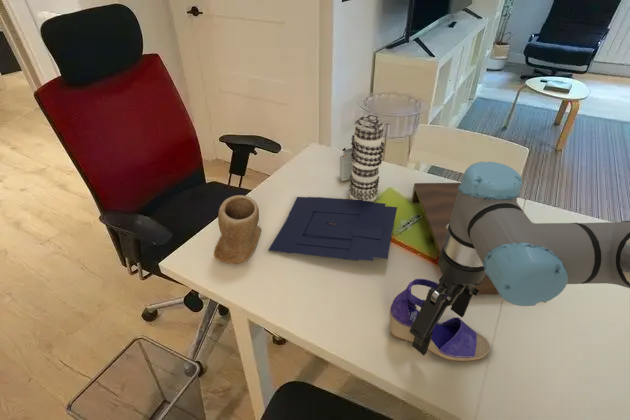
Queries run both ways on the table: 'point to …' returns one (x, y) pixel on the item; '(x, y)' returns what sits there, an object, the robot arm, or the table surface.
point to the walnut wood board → (443, 218)
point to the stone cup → (237, 229)
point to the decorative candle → (366, 158)
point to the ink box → (346, 165)
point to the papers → (337, 229)
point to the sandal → (436, 328)
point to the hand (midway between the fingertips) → (438, 330)
